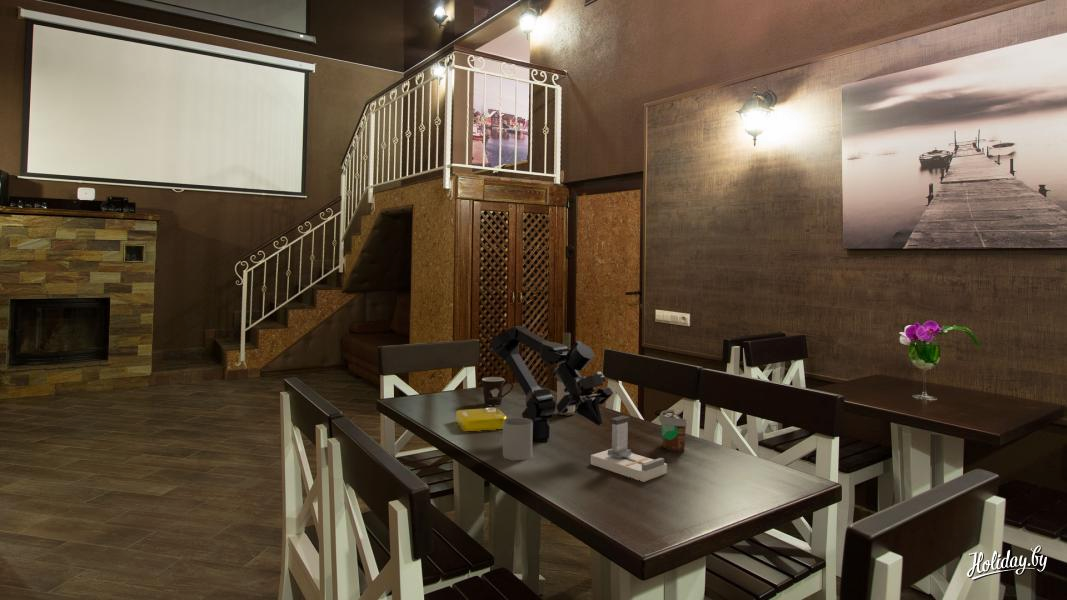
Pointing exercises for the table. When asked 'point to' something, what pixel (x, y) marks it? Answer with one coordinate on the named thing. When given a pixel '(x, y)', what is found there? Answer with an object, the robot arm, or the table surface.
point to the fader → (619, 437)
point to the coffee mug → (494, 390)
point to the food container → (672, 430)
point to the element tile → (480, 419)
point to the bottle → (559, 383)
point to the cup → (517, 438)
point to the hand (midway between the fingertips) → (600, 424)
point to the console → (631, 465)
